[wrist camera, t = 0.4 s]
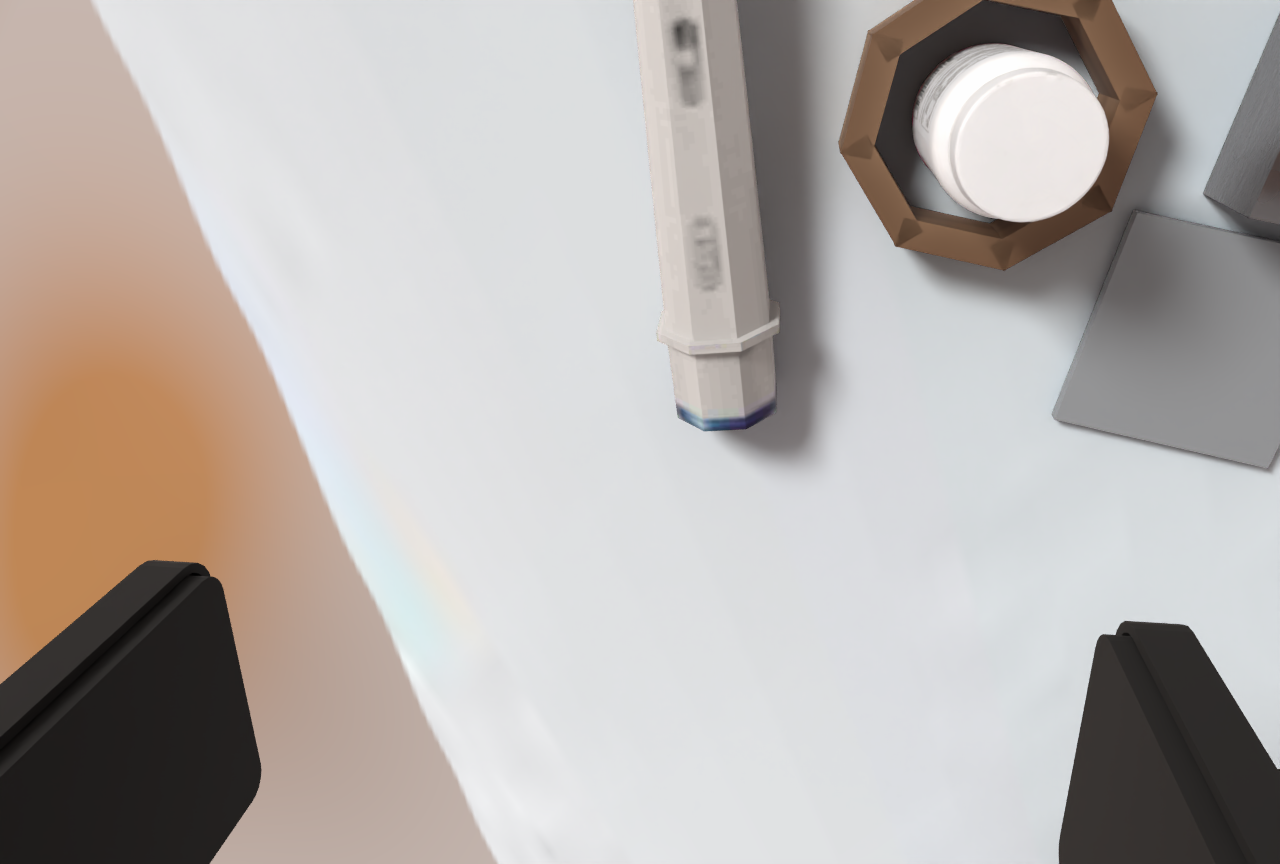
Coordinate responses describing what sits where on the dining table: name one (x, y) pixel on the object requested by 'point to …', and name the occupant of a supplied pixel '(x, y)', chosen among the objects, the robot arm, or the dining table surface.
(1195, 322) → the mat
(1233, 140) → the block
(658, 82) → the white electric toothbrush
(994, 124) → the pill bottle
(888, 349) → the dining table surface
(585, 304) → the dining table surface
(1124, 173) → the sleeve
